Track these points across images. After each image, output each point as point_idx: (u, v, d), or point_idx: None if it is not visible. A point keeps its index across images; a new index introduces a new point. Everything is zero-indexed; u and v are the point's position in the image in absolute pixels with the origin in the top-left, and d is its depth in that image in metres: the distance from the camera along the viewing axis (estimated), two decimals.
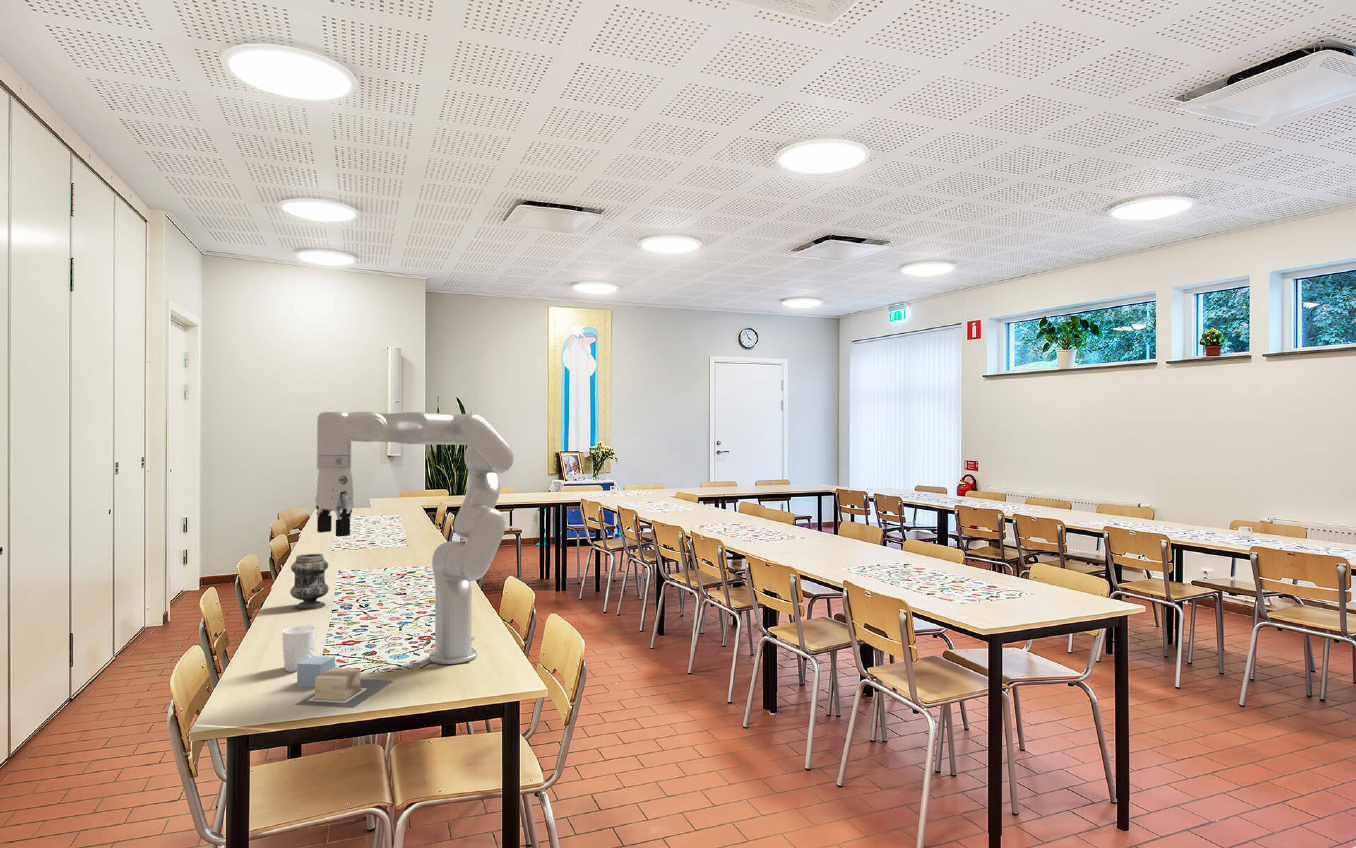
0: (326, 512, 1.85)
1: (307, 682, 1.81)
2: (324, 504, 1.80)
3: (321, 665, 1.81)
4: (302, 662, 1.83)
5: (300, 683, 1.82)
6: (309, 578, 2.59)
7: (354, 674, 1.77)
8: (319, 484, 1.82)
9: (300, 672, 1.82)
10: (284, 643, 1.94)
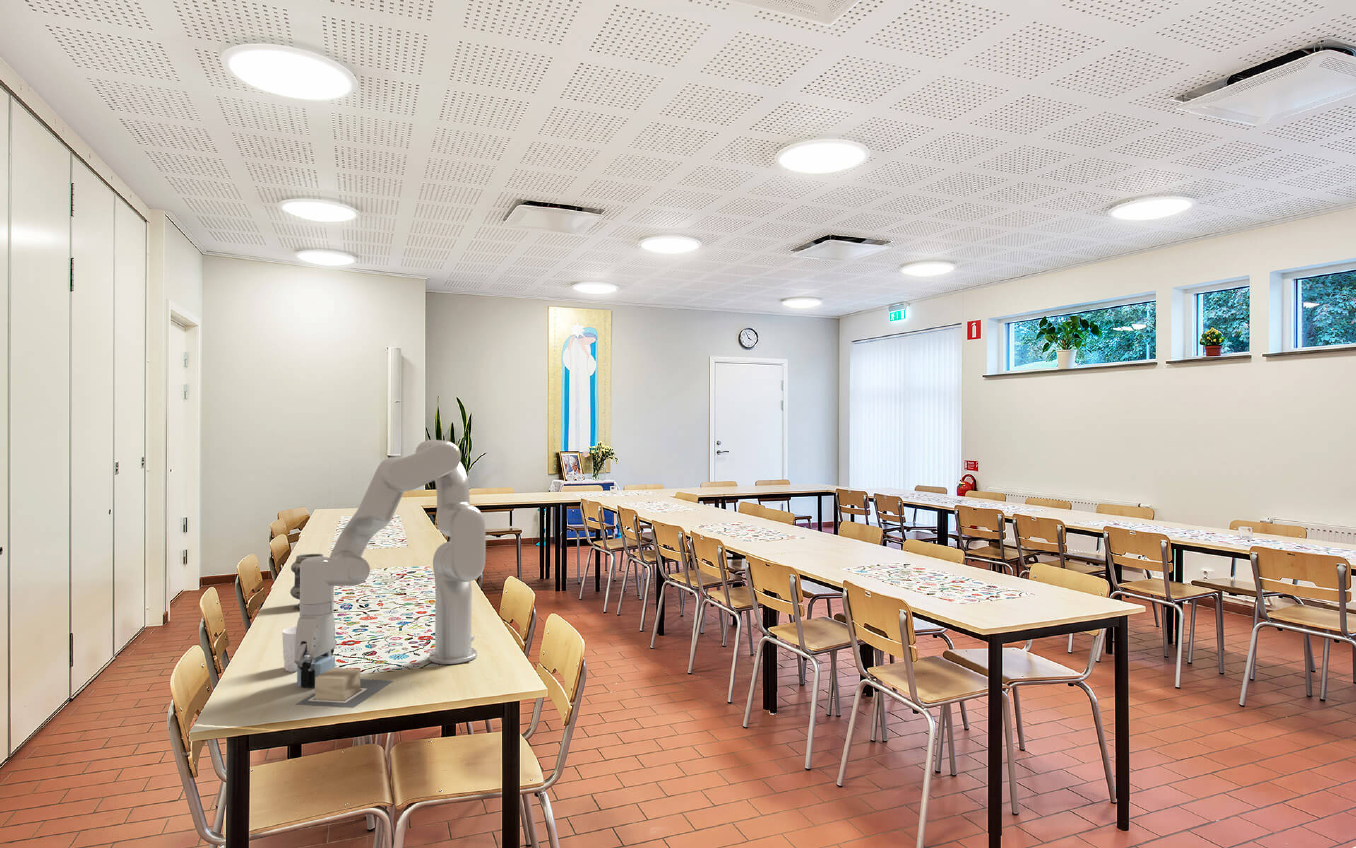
0: None
1: None
2: (324, 649, 1.84)
3: (321, 665, 1.81)
4: None
5: (300, 683, 1.82)
6: None
7: (354, 674, 1.77)
8: (319, 633, 1.82)
9: (300, 671, 1.82)
10: (284, 643, 1.94)
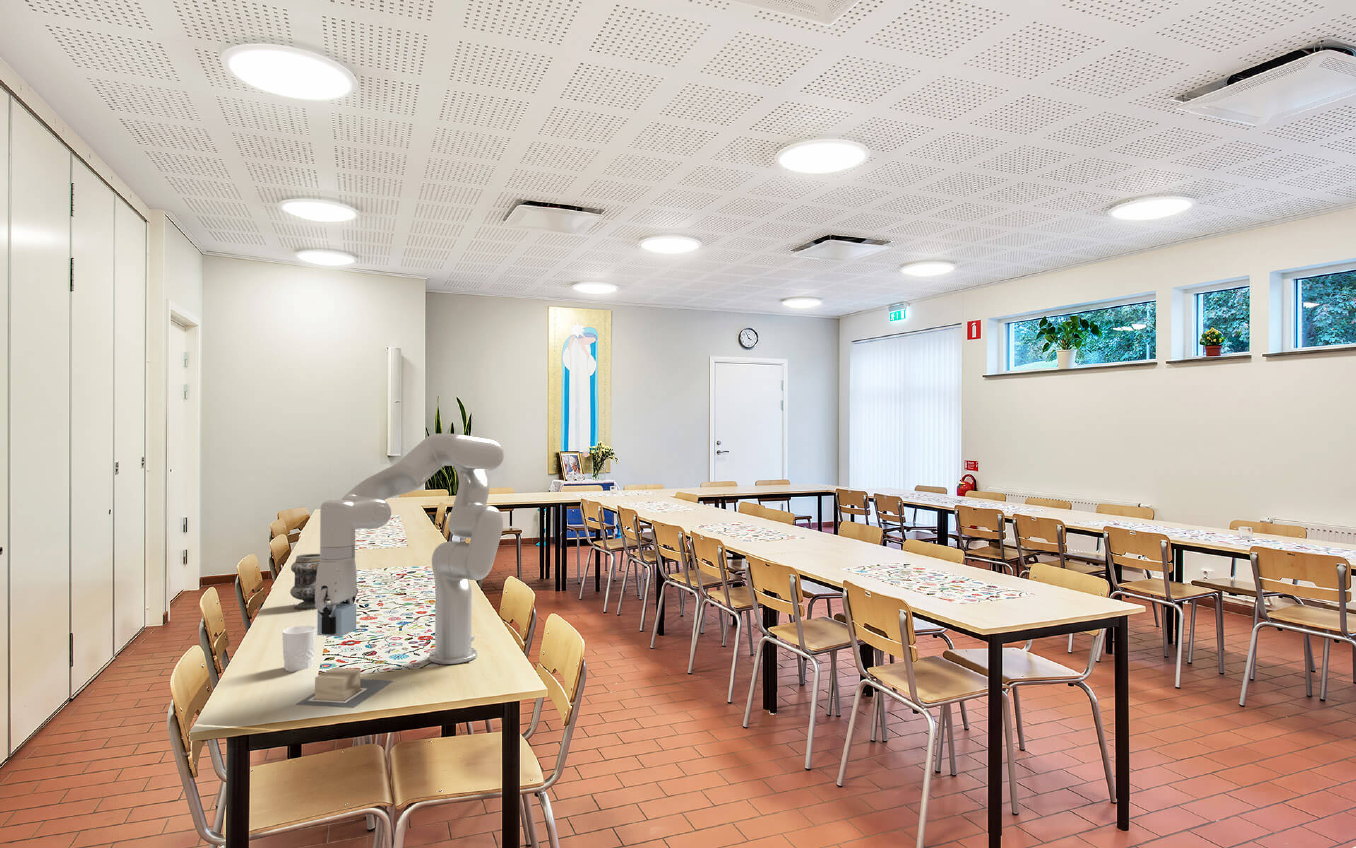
0: None
1: None
2: (345, 595, 1.76)
3: (342, 611, 1.74)
4: None
5: (320, 630, 1.74)
6: (309, 578, 2.59)
7: (354, 674, 1.77)
8: (340, 577, 1.74)
9: (320, 618, 1.74)
10: (284, 643, 1.94)
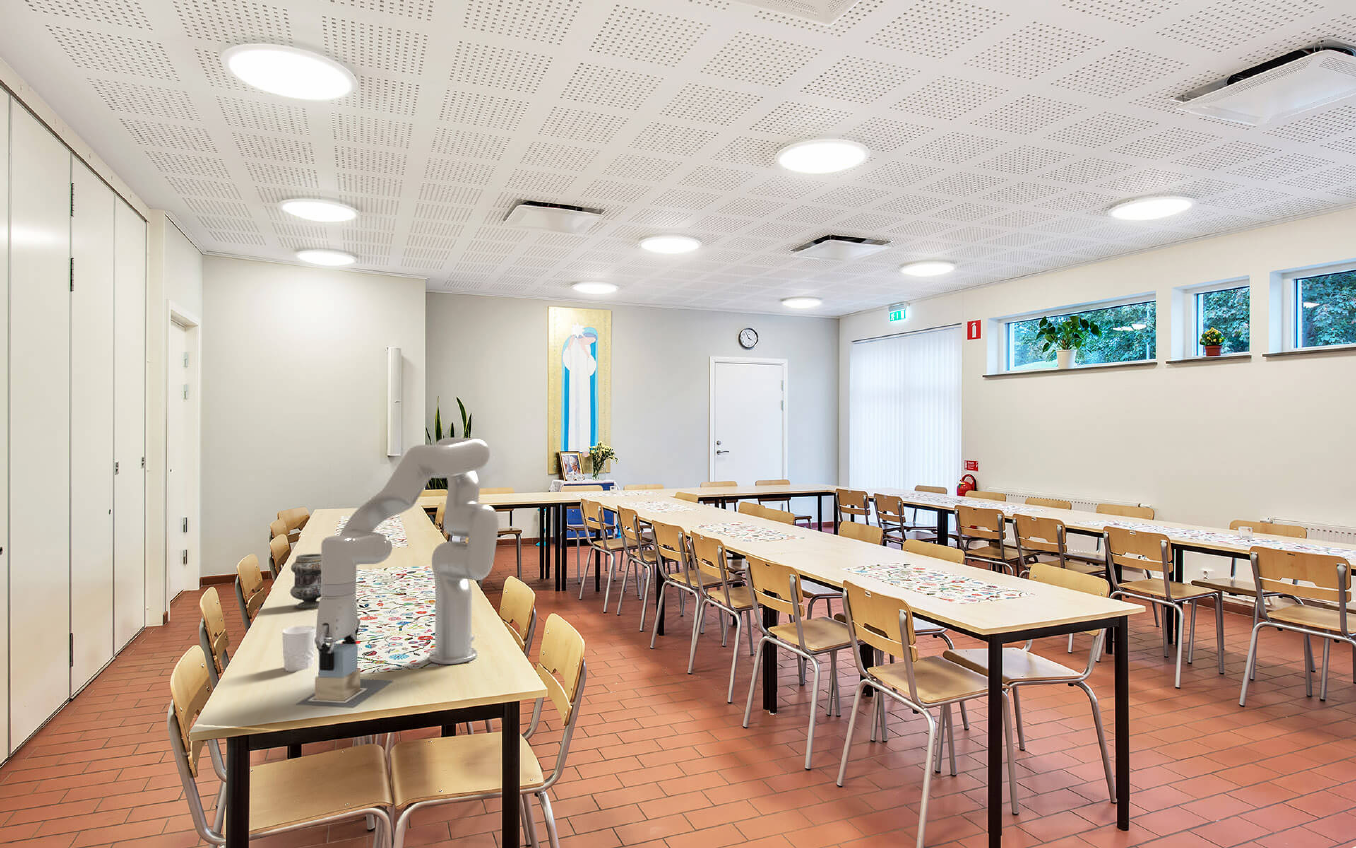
0: None
1: (329, 671, 1.73)
2: (347, 632, 1.76)
3: (343, 652, 1.73)
4: None
5: (322, 671, 1.74)
6: (309, 578, 2.59)
7: (354, 674, 1.77)
8: (342, 614, 1.74)
9: None
10: (284, 643, 1.94)
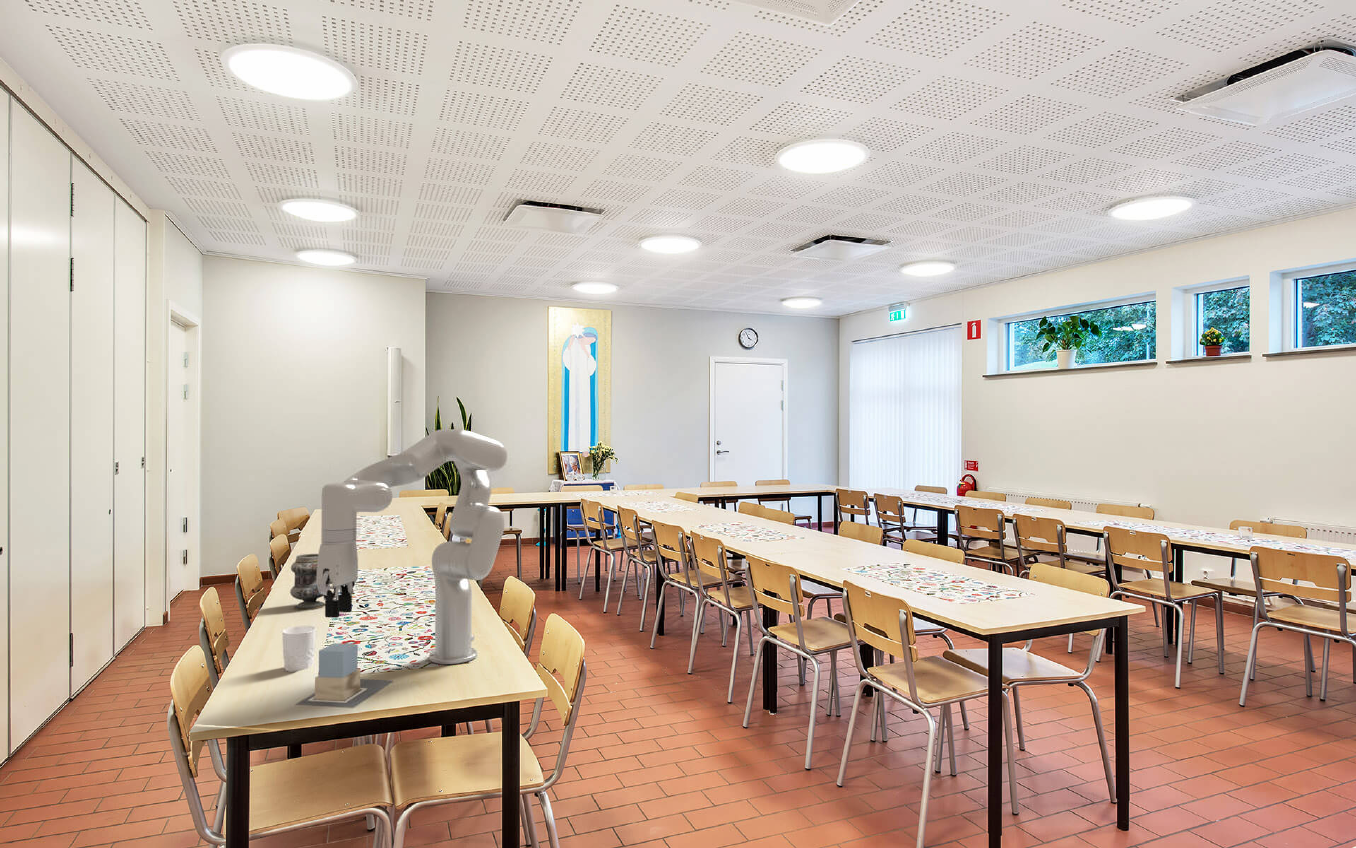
0: None
1: (329, 671, 1.73)
2: (347, 578, 1.76)
3: (343, 652, 1.73)
4: (324, 649, 1.75)
5: (322, 671, 1.74)
6: (309, 578, 2.59)
7: (354, 674, 1.77)
8: (342, 560, 1.74)
9: (321, 659, 1.74)
10: (284, 643, 1.94)
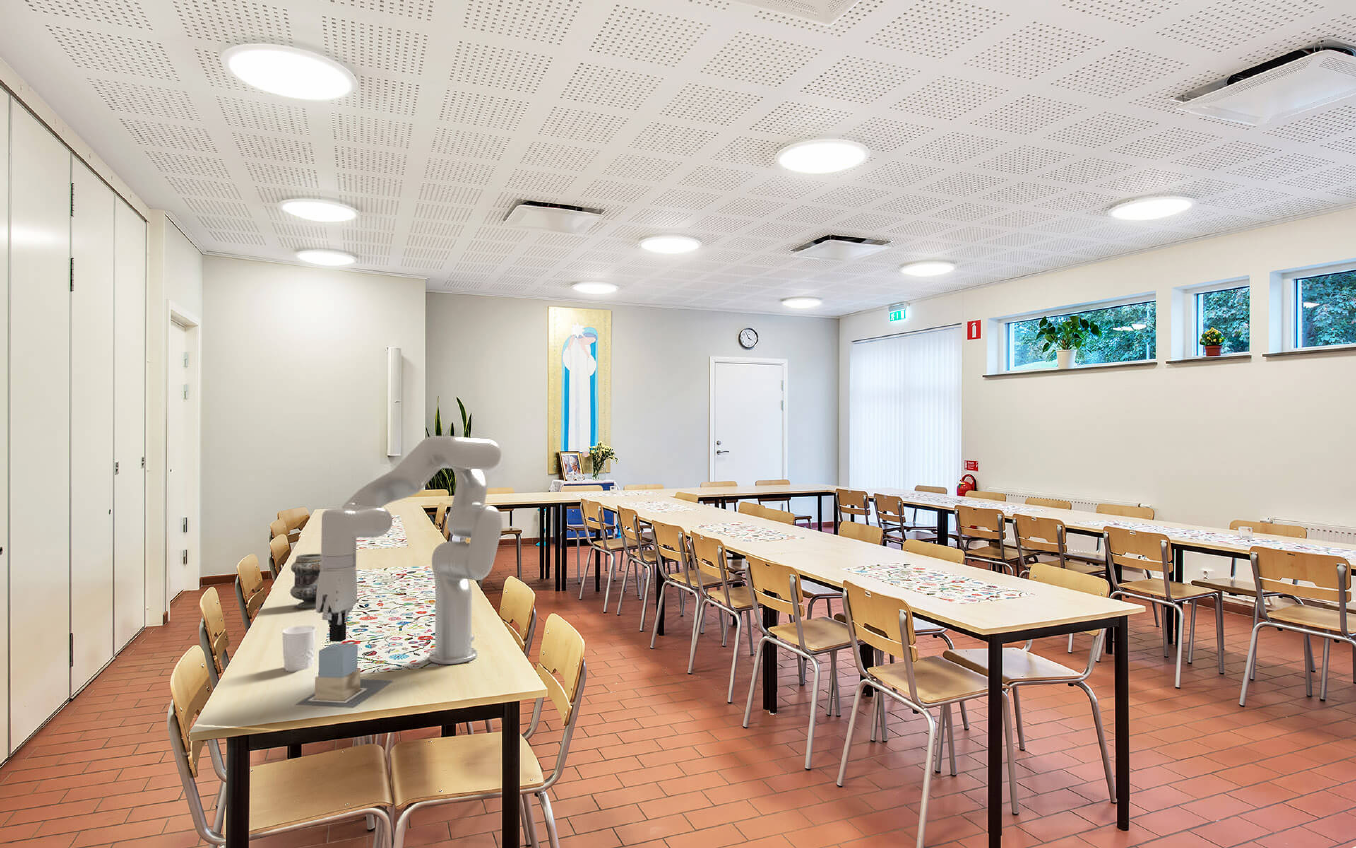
0: None
1: (329, 671, 1.73)
2: (346, 604, 1.76)
3: (343, 652, 1.73)
4: (324, 649, 1.75)
5: (322, 671, 1.74)
6: (309, 578, 2.59)
7: (354, 674, 1.77)
8: (342, 586, 1.73)
9: (321, 659, 1.74)
10: (284, 643, 1.94)
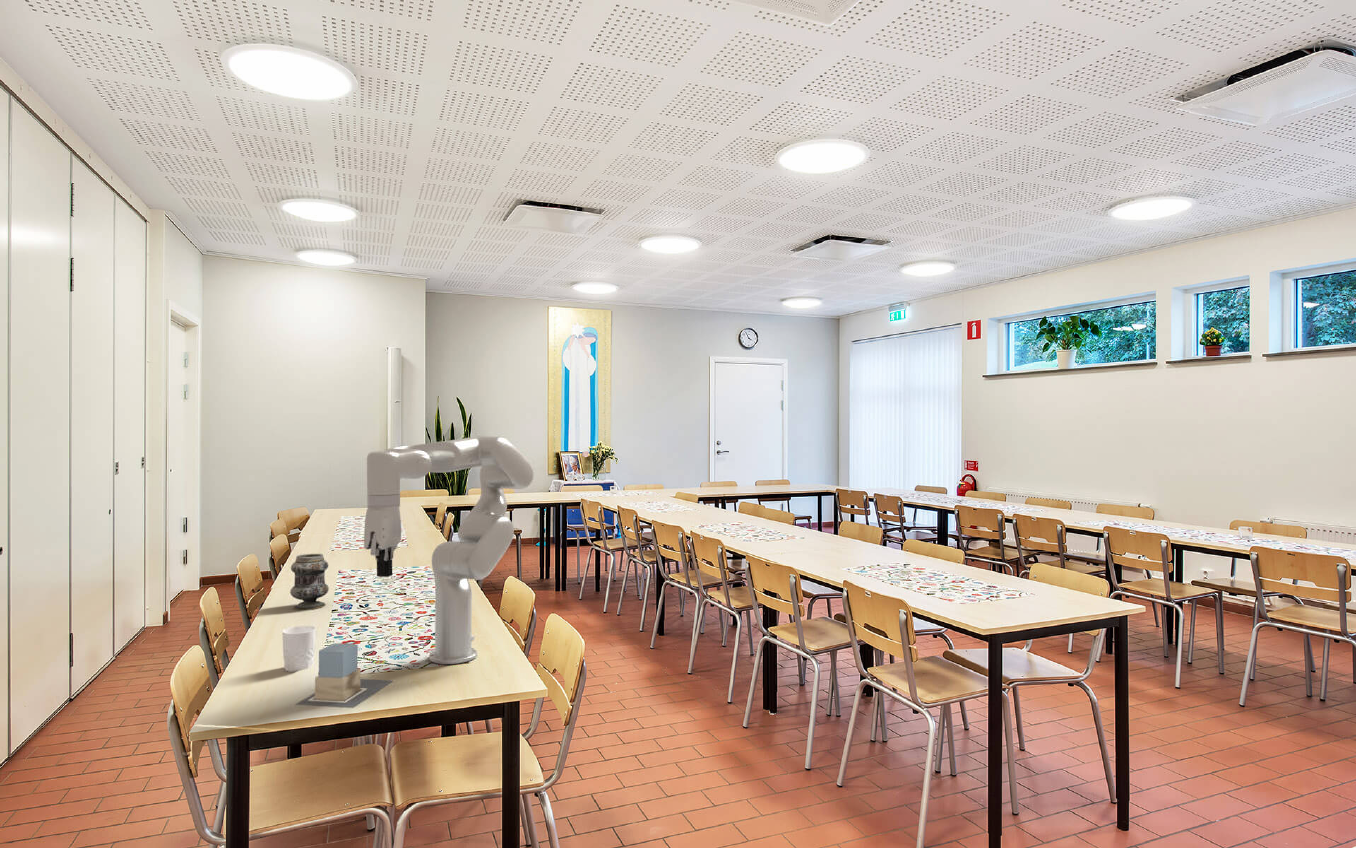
0: None
1: (329, 671, 1.73)
2: (392, 541, 1.85)
3: (343, 652, 1.73)
4: (324, 649, 1.75)
5: (322, 671, 1.74)
6: (309, 578, 2.59)
7: (354, 674, 1.77)
8: (388, 524, 1.83)
9: (321, 659, 1.74)
10: (284, 643, 1.94)
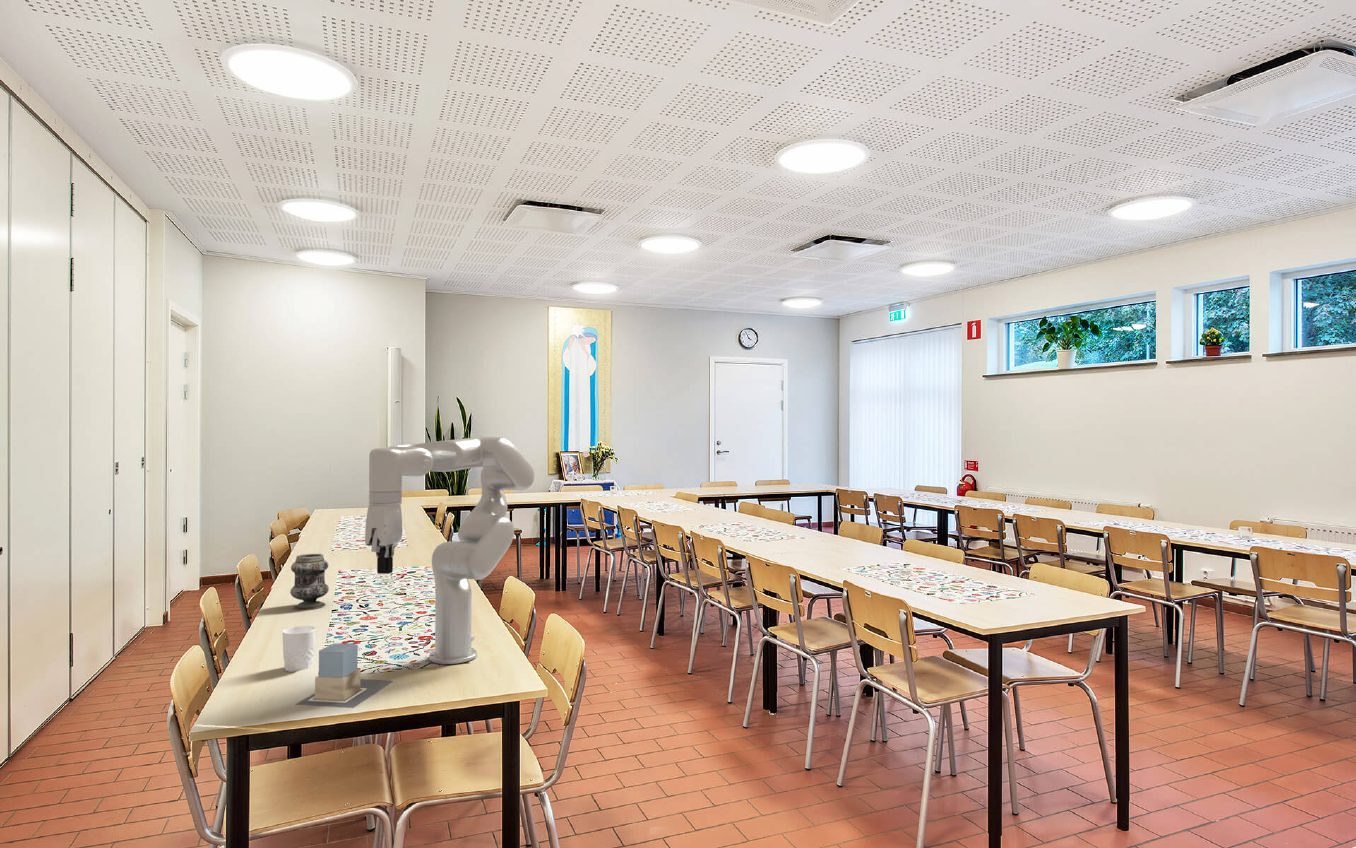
0: None
1: (329, 671, 1.73)
2: (393, 538, 1.85)
3: (343, 652, 1.73)
4: (324, 649, 1.75)
5: (322, 671, 1.74)
6: (309, 578, 2.59)
7: (354, 674, 1.77)
8: (389, 521, 1.83)
9: (321, 659, 1.74)
10: (284, 643, 1.94)
